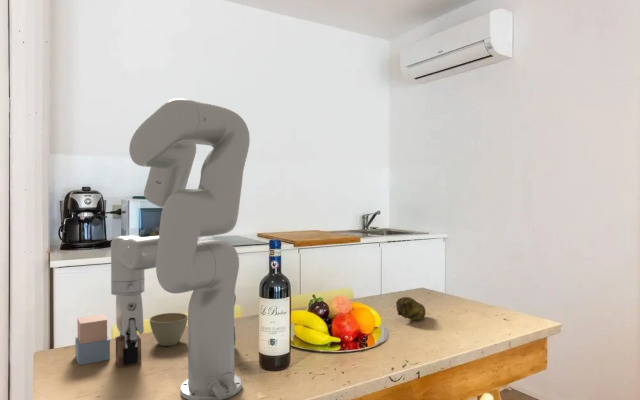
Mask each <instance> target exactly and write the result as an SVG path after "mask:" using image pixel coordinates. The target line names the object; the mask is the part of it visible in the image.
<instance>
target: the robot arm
mask: <svg viewBox="0 0 640 400" xmlns="http://www.w3.org/2000/svg"><path fill="white" fill-rule="evenodd" d="M138 126H139V127H138V128H137V129H136V130H135V132H134V133H133V135H132V137H131V139H130V142H129V149H128V150H129V156H130V159H131V161H132V162H133V163H134V164H135V165H137V166H140V167H143V168H144V167H146V168H147V167H148V168H150V169H149V172H148V176H147V180H146V183H145V186H144V190H143V195H144V197H145V199H146V200H147V202H149V203H151V204H153V205H155V206H156V207H158V208H160V209H162V211H161V213H160V214H161V215H160V219H159V220H160V221H159V222H160V224H159V232H158V235H152V236H144V237H142V236H140V235H121V236H115V237H113V238H112V240H111V243H110V250H111V251H110V267H111V268H110V272H111V273H110V285H111V286H110V290H111V291H110V292H111V295H112V296H116V297H115V321H116V323H115V325H116V329H117V330H118V332H119V336H124V347H125V348H123V364H124V365H129V364H134V363H137V362H138V346H137V334H140V335H141V334H143V333H144V331H145V329H144V327H145V326H144V313H143V312H144V311H143V309H144V308H143V298H142V294H143V293H144V292H145V270H149V269H155V272H156V278H157V281H158V283H159V285H160V286H161V288H162V289H163V290H164V291H165V292H168V293H170V294H184V293H189V292H192V293H191V296H190V299H189V303H188V308H187V316H188V318H187V379H186V380H185V381H183V383H182V384H181V385H180V387H179V388H180V393H179V394H180V395H181V396H182V397H183V398H184V399H185V400H227V399H229V398H231V397H234V396H235V395H237V394H238V393H239V392H240V391H241V389H242V386H243V385H242V379H241V378H240V377H239V376H238V375H236V374H235V346H234V327H235V307H234V300H235V295H236V285H237V280H238V275H239V269H240V257H239V254H238V251H237V249H236V248H235V247H234V246H233V244H231V243H229V242H227V241H225V240H221V239H208V240H199V238H202V237H212V236H218V235H220V236H221V235H225V234H227V233H230V232H231V231H233V230H234V229H235V227H236V225H237V222H238V216H239V210H240V204H241V203H240V202H241V195H242V187H243V177H244V170H245V166H246V162H247V158H248V153H249V148H250V142H251V141H250V139H251V138H250V132H249V128H248V125H247V123H246V121H245V120H244V119H243V117H241V116H240V115H239V114H238V113H236V112H235V111H233V110H231V109H228V108H226V107H223V106H220V105H215V104H211V103H205V102H200V101H195V100H191V99H186V98H173V99H169V101H166V102H165V103H164V104H162V105H161V106H160V107H159V108H158V109H157V110H156V111H154V112H153V113H152V114H151V115H149V117H148V118H146V119H145V120H144V121H143V122H142V123H141V124H140V125H138ZM197 145H204V146H209V147H212V149H211V150H210V151H209V153H208V154H207V156H206V157H205V159H204V161H203V164H202V165H201V170H200V179H199V183H198V188H191V189H190V188H187V186H188V185H187V184H188V182H189V178H190V174H191V171H192V167H193V165H194V161H195V157H196V154H197ZM235 301H236V300H235ZM128 337H130V339H128V342H127V338H128Z"/></svg>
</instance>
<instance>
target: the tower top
mask: <svg viewBox="0 0 640 400" xmlns="http://www.w3.org/2000/svg"><path fill="white" fill-rule="evenodd" d="M76 319H77V323H76V324H77V326H76V327H77V337H78V340H79V343H80V344H85V343H91V342H97V341H103V340H107V336H108V319H107V317H106V316H105V314H97V315H90V316H89V315H88V316H82V317H77V318H76Z"/></svg>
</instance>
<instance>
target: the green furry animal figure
mask: <svg viewBox="0 0 640 400" xmlns="http://www.w3.org/2000/svg"><path fill="white" fill-rule="evenodd" d="M395 307H396V312H397V315H398V316H401V317H402V318H404V319H408V320H410V321H415V322H416V321H422V320H423V319H424V318H425V316H426V307H425V306H424V305H423V304H422V303H420V302H417V301H416V300H415V299H414V298H412V297H410V296H404V297H403V296H402V297H400V298H399V299H397V301H396V302H395Z"/></svg>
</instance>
